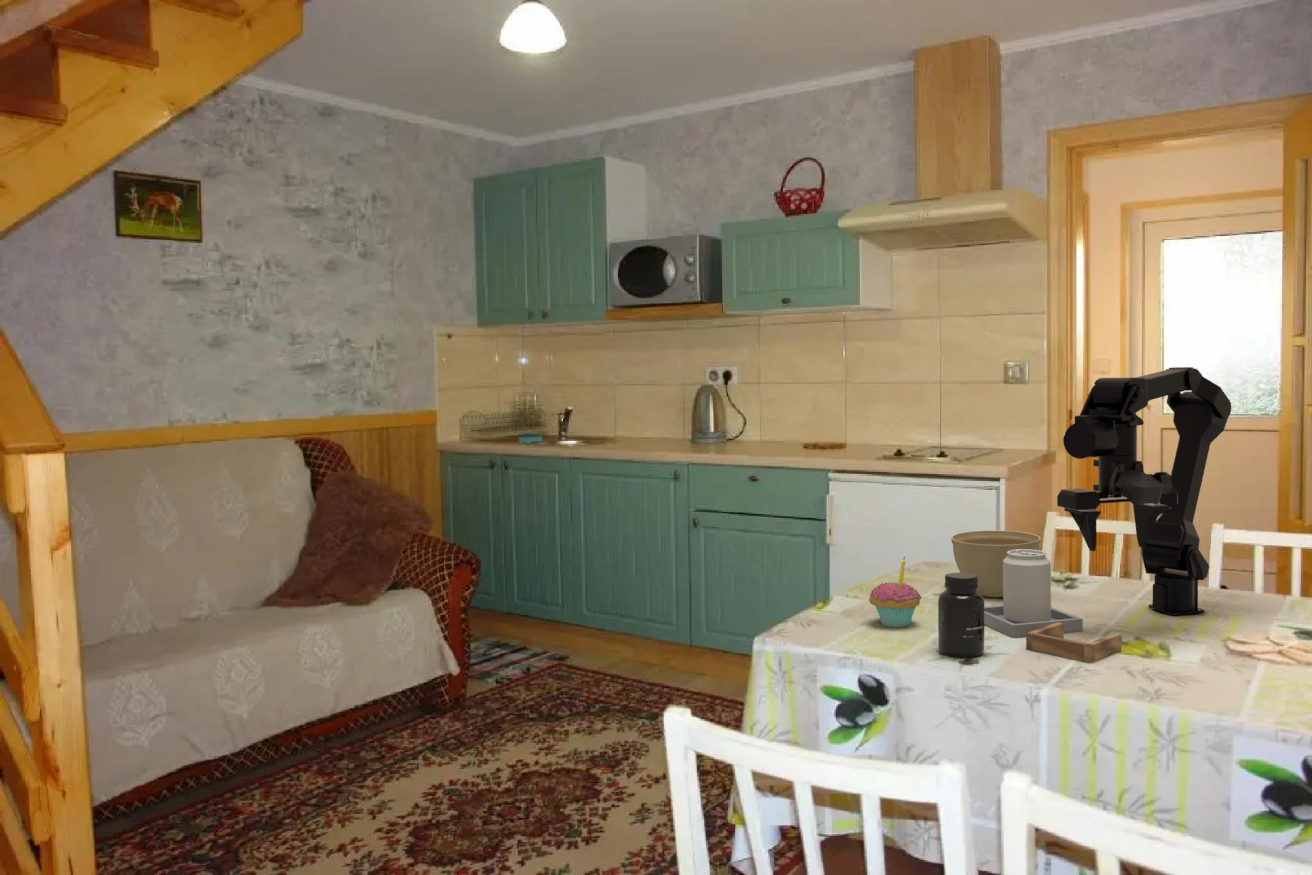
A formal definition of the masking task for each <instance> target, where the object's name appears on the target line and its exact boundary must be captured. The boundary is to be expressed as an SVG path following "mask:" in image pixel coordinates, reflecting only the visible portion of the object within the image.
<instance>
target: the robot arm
mask: <svg viewBox="0 0 1312 875" xmlns="http://www.w3.org/2000/svg"><path fill="white" fill-rule="evenodd" d="M1181 392H1182V393H1181ZM1166 396H1167V397H1166ZM1164 397H1166V404H1167V405H1168V407H1169V408H1170V410H1171V411H1172V412H1173V417H1172V418H1173V419H1172V421H1173V425H1174V427H1175V428H1176V432H1177V434H1178V436H1179V437H1178V443H1177V447H1176V452H1175V457H1174V459H1173V460H1174V461H1173V463H1172V464H1173V465H1172V469H1171V473H1169V472H1167V471H1156V472H1154V473H1147V472H1146V473H1145V471H1144V464H1143V461H1142V460H1138V458H1137V457H1138V453H1137V452H1138V451H1137V450H1138V447H1137V446H1138V445H1137V444H1138V442H1137V441H1138V440H1137V439H1138V438H1137V437H1138V436H1137V435H1138V434H1137V433H1138V430H1137V429H1138V426H1143V425H1144V423H1145V422H1144V420H1143V419H1142V418H1141V416H1140V417H1139V415H1137V413H1138V412H1140V411H1141V410H1143V409H1145V408H1147V407H1148V406H1149V402H1150V401H1153V400H1154V399H1155V400H1156V399H1159V398H1164ZM1231 412H1232V403H1231V401H1230V399H1229V397H1228V395H1227V394H1226V393H1225V392H1224V390H1223V389H1222V388H1221V386H1219V385H1218V384H1216V383H1214V382H1212V381H1211V380H1209V379H1208V378H1207V377H1204V376H1203V374H1202V373H1201V372H1200V370H1198V368H1195V367H1193V366H1188V367H1185V366H1184V367H1180V366H1179V367H1169V368H1166V369H1165V370H1161V371H1158V372H1157V371H1156V372H1154V373H1150V374H1149V373H1148V374H1145V375H1141V376H1136V377H1099V378H1098V379H1096V380H1095V382H1094V383H1093V386H1091V389H1090V391H1089V394H1088V395H1087V398H1086V401H1085V403H1084V405H1083V407H1082V408H1081V411H1080V414H1079V415H1075V416H1074V423H1073V424H1071V425H1070V426H1069V427H1067V429H1066V431H1065V433H1064V436H1063V438H1062V442H1063V445H1064V450H1065V451H1066V453H1068V455H1070V456H1071V457H1072V458H1074V459H1077V460H1078V459H1079V460H1082V459H1090V458H1098V459H1093V461H1092V462H1093V464H1092V466H1093V467H1098V468H1097V469H1098V471H1097V473H1098V482H1097V484H1096V483H1095V484H1093V485H1092V486H1093V490H1092V489H1091V490H1090V489H1086V488H1085V489H1084V488H1066V489H1061V490H1060V491H1059V493H1058V494H1057V496H1056V498H1057V499H1056V501H1057V502H1056V503H1057V504H1056V505H1057V507H1060V508H1063V509H1064V512H1068V513H1069V514H1070V516H1071V518H1072V519H1073V520H1074V522H1075V523H1076V525H1077V527H1078V529H1079V531H1080V533H1081V535H1082V537H1083V539H1084V541H1085V544H1086V546H1087V548H1088V550H1089V551H1092V552H1096V549H1097V521H1098V518H1099V516H1100V515H1101V513H1102V511H1101V510H1098V509H1097V508H1098V507H1099V506H1100V505H1101V504H1111V503H1112V504H1113V503H1131V504H1132V507H1133V515H1134V525H1135V526H1134V527H1135V533H1136V539H1137V544H1138V547H1140V549H1141V551H1140V552H1141V557H1142V562H1143V566H1144V569H1145V573H1146V574H1147V575H1150V574H1151V575H1154V583H1153V584H1152V604H1151V603H1150V604H1148V605H1147V606H1148V609H1152V610H1156V611H1158V612H1161V613H1164V614H1167V615H1170V616H1182V615H1191V614H1194V615H1195V614H1204V613H1205V609H1203V608H1200V607H1199V581H1205V579H1206V578H1207V577H1208V574H1209V570H1210V565H1209V563H1208V562H1207V560H1206V558H1205V556H1204V555H1203V554H1202V553H1201V550H1200V549H1199V548H1200V537H1199V535H1198V532H1197V530H1196V527H1195V525H1194V519H1195V515H1196V510H1197V504H1198V501H1199V496H1200V492H1201V488H1202V483H1203V478H1204V473H1205V469H1206V465H1207V460H1208V456H1209V452H1210V451H1209V450H1210V446H1211V444H1212V443H1213V442H1214V440H1216V439H1217V437H1218V436H1220V435H1221V434H1222V433H1223V432H1224V430H1225V428H1226V425H1227V423H1228V419H1229V417H1230V415H1231ZM1096 509H1097V510H1096Z"/></svg>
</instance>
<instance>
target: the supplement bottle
mask: <svg viewBox="0 0 1312 875" xmlns="http://www.w3.org/2000/svg"><path fill="white" fill-rule="evenodd" d="M944 588H946V590H944V591H941V593H940V594H939V596H938V601H937V604H938V606H937V612H938V613H937V616H938V618H937V619H938V620H937V622H938V623H937V624H938V628H937V630H938V632H937V635H938V638H937V640H938V642H937V643H938V644H937V645H938V650H939V651H940V653H941V654H943V655H946V656H948V657H953V658H955V657H956V658H975V657H979V656H982V655H983V654H984V652H985V625H984V607H985V599H984V596H982V595H981V594H980V593H978V592H977V591H976V589H977V588H978V577H977V576H976V575H974V574H969V573H960V572H949V573H946V574H945V575H944Z"/></svg>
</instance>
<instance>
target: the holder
mask: <svg viewBox="0 0 1312 875" xmlns="http://www.w3.org/2000/svg"><path fill="white" fill-rule="evenodd" d="M1122 641H1123V638H1122V633H1117V632H1115V633H1111V634H1109V635H1106V636H1104V637H1101V638H1099V639H1096V640H1094V641H1091V642H1088V643H1086V642H1082V641H1078V640H1071V639H1067V638H1065V633H1064V623H1059V622H1057V623H1054V624H1051V625H1048V626H1046V627H1043V628H1040V629H1037V630H1034V631H1031V632H1028V633H1026V637H1025V648H1026V650H1028V651H1029V650H1030V651H1033V650H1034V651H1033V652H1040V653H1043V654H1048V655H1052V656H1057V657H1062V658H1067V659H1069V660H1070V659H1071V660H1076V661H1080V662H1085V663H1089V664H1092V663H1094V662H1096V661H1100V660H1102V659H1104V658H1106V657H1108V656H1111V655H1114V654H1116V653H1118V652H1122V650H1123V649H1122V648H1123V647H1122V644H1123V642H1122Z"/></svg>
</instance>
